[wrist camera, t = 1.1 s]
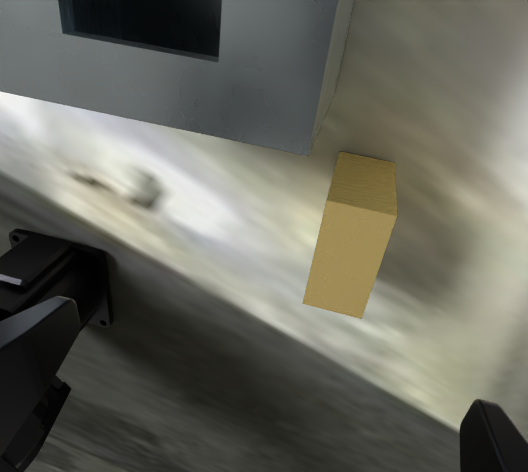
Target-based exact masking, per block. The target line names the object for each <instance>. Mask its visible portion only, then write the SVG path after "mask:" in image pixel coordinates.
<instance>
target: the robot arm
mask: <svg viewBox="0 0 528 472" xmlns="http://www.w3.org/2000/svg"><path fill="white" fill-rule="evenodd" d="M9 239H10V243H11V247H12V249H11V250H9V251H8V252H7V253H5V254H4V255H3V256H1V257H0V472H24V471H25V470H26V468H27V467H28V466H29V465H30V464H31V462H32V461H33V460H34V458H35V457H36V456H37V454H38V452H39V451H40V449H41V447H42V445H43V443H44V441H45V440H46V438H47V436H48V434H49V432H50V430H51V428H52V426H53V424H54V422H55V420H56V418H57V416H58V414H59V412H60V410H61V408H62V406H63V404H64V402H65V400H66V398H67V397H68V395H69V393H70V391H71V388H70V387H69V386H68V385H67V384H66V383H65V382H62V381H61V380H60V379H59V378H58V377H57V376H56V373H57V371H58V370H59V368H60V366H61V364H62V363H63V361H64V359H65V357H66V355H67V354H68V352H69V350H70V348H71V347H72V345H73V343H74V341H75V339H76V338H77V336H78V334H79V332H80V331H81V330H82V329H83V328H84V327H85V325H86V324H87V323H88V324H92V325H95V326H99V327H102V328H109V327H110V325H111V324H112V323H113V317H112V308H111V299H110V289H109V280H108V271H107V262H106V256H105V254H104V253H103V252H102V251H101V250H98V249H95V248H91V247H87V246H83V245H79V244H75V243H72V242H68V241H64V240H60V239H56V238H52V237H48V236H44V235H41V234H37V233H33V232H29V231H25V230H21V229H14V230H13V231H12V232H10V233H9ZM96 257H97V258H96ZM460 469H461V472H528V442H527V441H526V440H525V438H524V437H523V436H522V434H521V433H520V432H519V431H518V429H517V428H516V427H515V425H514V424H513V423H512V421H511V420H510V419H509V417H508V416H507V415H506V413H505V412H504V411H503V409H502V408H501V407H500V406H499V405H498V404H496V403H493V402H489V401H485V400H481V399H477V400H475V401H474V402H473V403H472V405H471V407H470V408H469V410H468V412H467V414H466V415H465V417H464V419H463V420H462V423H461V426H460Z"/></svg>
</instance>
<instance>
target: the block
mask: <svg viewBox="0 0 528 472" xmlns="http://www.w3.org/2000/svg"><path fill="white" fill-rule="evenodd" d="M396 218H397V200H396V178H395V163H394V162H389V161H384V160H379V159H374V158H370V157H365V156H360V155H355V154H350V153H345V152H341V151H339V155H338V159H337V163H336V167H335V170H334V174H333V178H332V182H331V186H330V190H329V193H328V197H327V201H326V205H325V210H324V214H323V218H322V223H321V227H320V231H319V235H318V240H317V244H316V248H315V253H314V257H313V261H312V265H311V270H310V274H309V278H308V283H307V287H306V291H305V295H304V300H303V304H306V305H310V306H314V307H318V308H322V309H325V310H329V311H333V312H337V313H341V314H345V315H349V316H352V317H356V318H360V319H362V316H363V313H364V310H365V307H366V304H367V302H368V299H369V296H370V293H371V290H372V287H373V284H374V281H375V279H376V276H377V273H378V270H379V267H380V264H381V261H382V259H383V256H384V253H385V250H386V247H387V244H388V241H389V238H390V236H391V233H392V230H393V227H394V224H395V221H396Z"/></svg>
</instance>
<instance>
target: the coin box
mask: <svg viewBox="0 0 528 472" xmlns="http://www.w3.org/2000/svg"><path fill="white" fill-rule="evenodd" d="M353 5H354V0H0V91H1V92H6V93H11V94H15V95H20V96H25V97H30V98H34V99H39V100H44V101H49V102H53V103H58V104H63V105H68V106H72V107H77V108H82V109H87V110H91V111H96V112H101V113H106V114H111V115H115V116H120V117H125V118H130V119H134V120H139V121H144V122H149V123H153V124H158V125H163V126H168V127H172V128H177V129H182V130H187V131H191V132H196V133H201V134H206V135H210V136H215V137H220V138H225V139H230V140H234V141H239V142H244V143H249V144H253V145H258V146H263V147H268V148H272V149H277V150H282V151H287V152H291V153H296V154H301V155H306V156H309V153H310V151H311V149H312V146H313V144H314V141H315V139H316V137H317V134H318V132H319V129H320V127H321V125H322V122H323V120H324V118H325V115H326V113H327V110H328V108H329V106H330V103H331V101H332V98H333V96H334V94H335V90H336V85H337V80H338V76H339V71H340V66H341V61H342V57H343V52H344V47H345V42H346V38H347V33H348V28H349V23H350V19H351V14H352V9H353Z"/></svg>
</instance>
